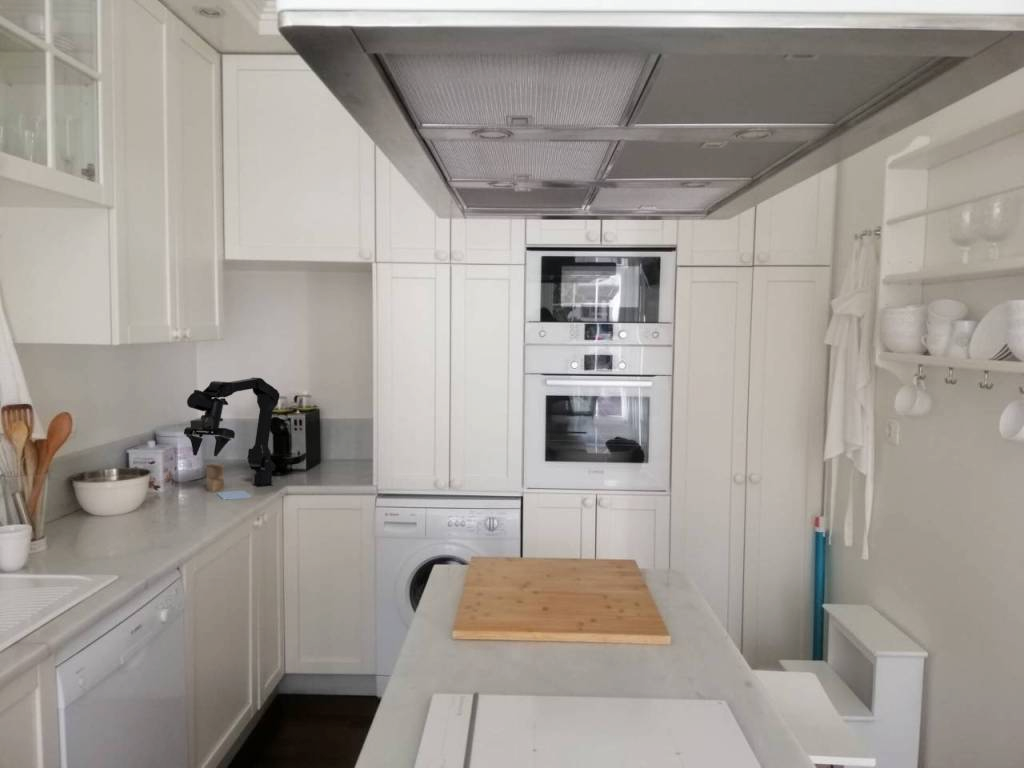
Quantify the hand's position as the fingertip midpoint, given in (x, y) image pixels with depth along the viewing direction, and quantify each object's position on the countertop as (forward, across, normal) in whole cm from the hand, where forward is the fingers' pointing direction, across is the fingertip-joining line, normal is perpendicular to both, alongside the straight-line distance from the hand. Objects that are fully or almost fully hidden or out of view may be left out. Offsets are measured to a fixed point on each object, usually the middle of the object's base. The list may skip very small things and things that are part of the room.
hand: (204, 455), depth 261 cm
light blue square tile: (+13, +4, +14) cm, 19 cm away
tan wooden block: (+11, -8, +18) cm, 22 cm away
